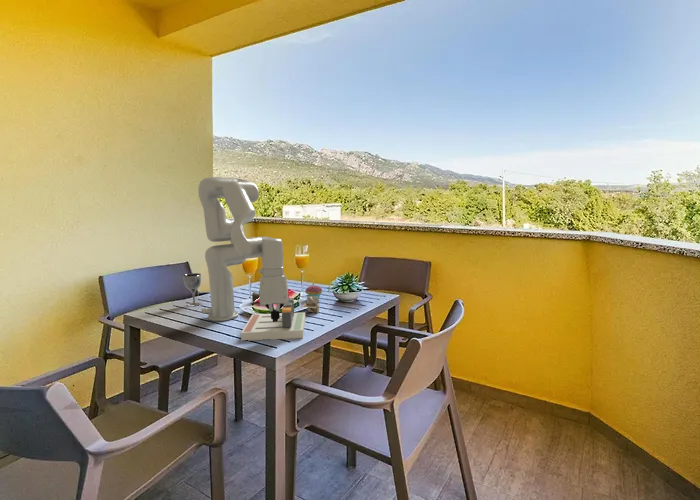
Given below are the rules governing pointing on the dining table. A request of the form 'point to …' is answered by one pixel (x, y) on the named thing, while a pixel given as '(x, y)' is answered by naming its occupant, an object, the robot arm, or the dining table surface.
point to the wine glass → (192, 284)
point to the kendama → (255, 296)
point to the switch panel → (274, 326)
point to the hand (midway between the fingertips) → (275, 320)
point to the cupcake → (313, 290)
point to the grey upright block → (286, 317)
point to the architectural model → (312, 304)
